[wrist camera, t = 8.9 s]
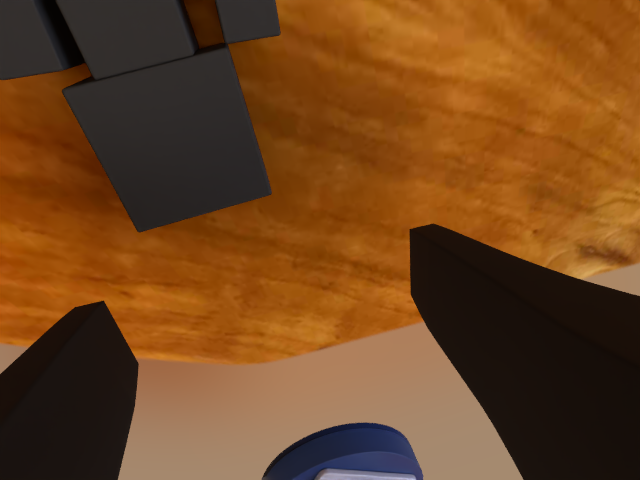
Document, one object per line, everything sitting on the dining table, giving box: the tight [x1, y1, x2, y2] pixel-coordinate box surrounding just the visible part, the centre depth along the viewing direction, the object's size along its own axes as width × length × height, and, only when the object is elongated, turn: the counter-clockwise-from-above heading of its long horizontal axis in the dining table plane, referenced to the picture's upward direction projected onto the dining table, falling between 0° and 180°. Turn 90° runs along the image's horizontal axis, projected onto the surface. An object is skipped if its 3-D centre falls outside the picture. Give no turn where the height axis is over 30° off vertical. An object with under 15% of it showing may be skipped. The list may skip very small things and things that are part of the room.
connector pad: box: [55, 0, 272, 232], centre depth 13 cm, size 8×5×3 cm, turn 12°
